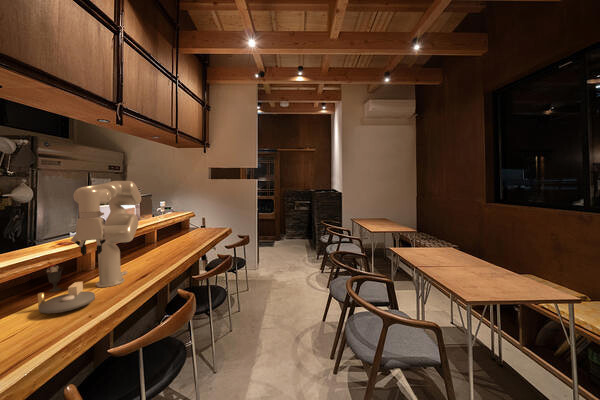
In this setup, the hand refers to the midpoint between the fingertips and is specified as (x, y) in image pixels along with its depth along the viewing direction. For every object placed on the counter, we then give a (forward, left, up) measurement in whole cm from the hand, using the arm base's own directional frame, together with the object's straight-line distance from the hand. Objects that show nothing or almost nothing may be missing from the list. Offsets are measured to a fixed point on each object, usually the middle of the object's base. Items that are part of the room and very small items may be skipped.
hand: (91, 253), depth 120 cm
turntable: (+9, -2, -19) cm, 21 cm away
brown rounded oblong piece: (+10, -6, -21) cm, 24 cm away
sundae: (-6, -29, -22) cm, 37 cm away
